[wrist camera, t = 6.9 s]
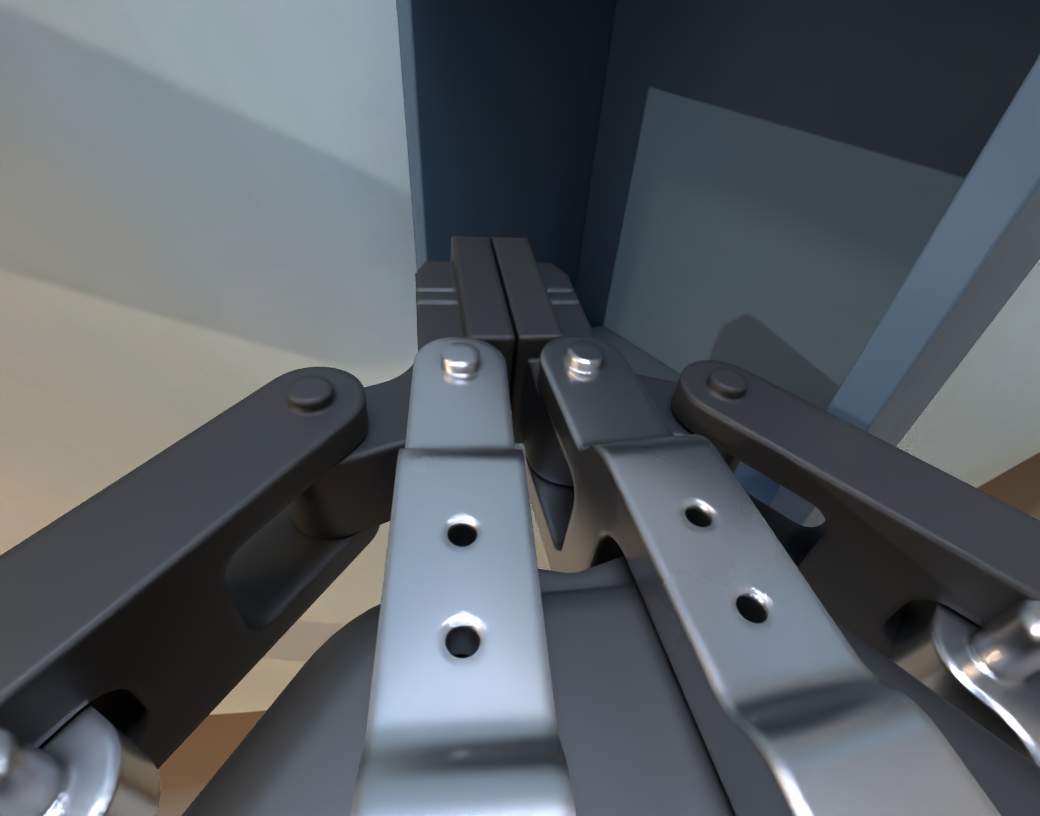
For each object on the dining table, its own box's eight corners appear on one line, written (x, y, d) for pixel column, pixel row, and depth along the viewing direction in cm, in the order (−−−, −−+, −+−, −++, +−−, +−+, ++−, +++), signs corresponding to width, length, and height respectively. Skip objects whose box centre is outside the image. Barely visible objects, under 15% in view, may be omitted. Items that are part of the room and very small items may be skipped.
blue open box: (423, 370, 18) (719, 645, 12) (385, -120, 10) (1235, -94, 4) (570, 307, 22) (860, 493, 15) (627, -95, 14) (1283, -59, 7)
